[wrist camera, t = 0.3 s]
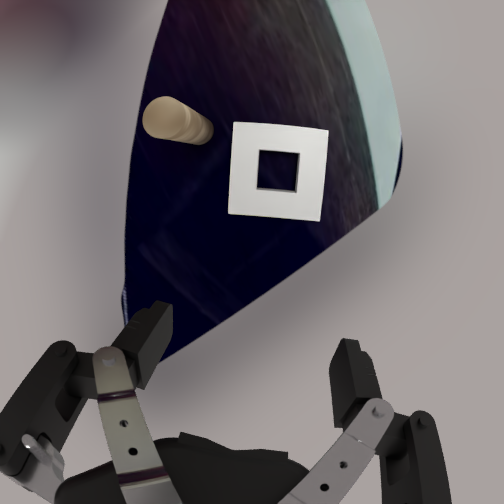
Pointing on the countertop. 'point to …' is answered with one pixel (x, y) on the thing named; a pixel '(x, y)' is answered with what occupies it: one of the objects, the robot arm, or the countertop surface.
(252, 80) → the countertop surface
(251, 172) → the socket plate
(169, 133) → the peg
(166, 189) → the countertop surface
